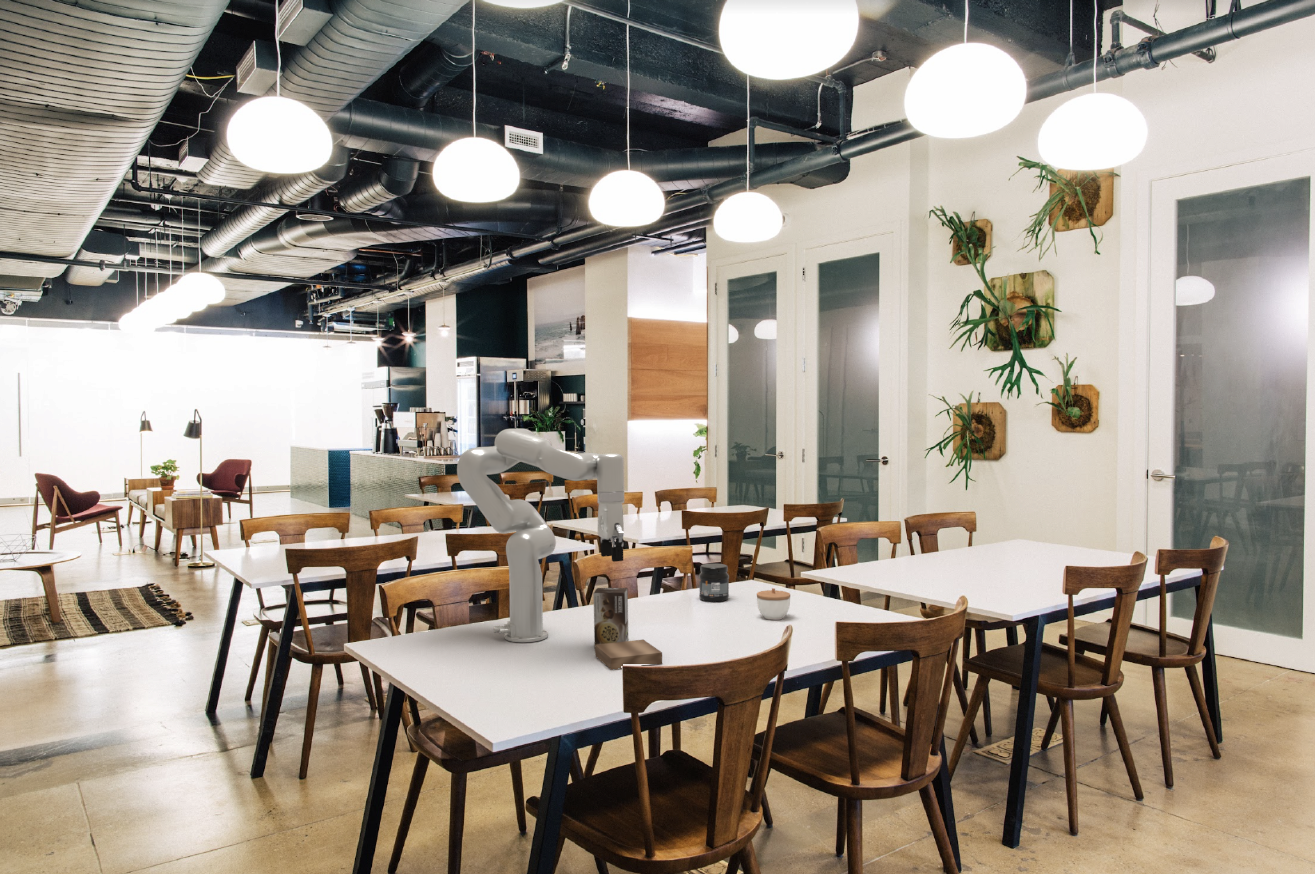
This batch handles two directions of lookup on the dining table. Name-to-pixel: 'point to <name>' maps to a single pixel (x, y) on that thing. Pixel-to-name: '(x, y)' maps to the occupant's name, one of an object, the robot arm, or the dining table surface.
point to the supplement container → (714, 583)
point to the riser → (627, 653)
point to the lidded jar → (773, 603)
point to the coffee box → (610, 615)
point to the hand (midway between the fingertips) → (612, 558)
